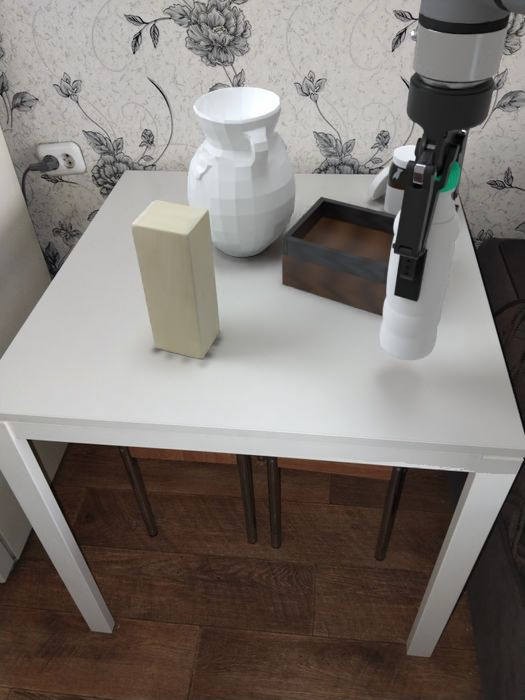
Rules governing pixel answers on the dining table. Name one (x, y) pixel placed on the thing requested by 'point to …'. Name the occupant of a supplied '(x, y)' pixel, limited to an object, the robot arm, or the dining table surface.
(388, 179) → the spread jar
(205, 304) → the beige rectangular block
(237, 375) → the dining table surface
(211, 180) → the white vase
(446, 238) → the water bottle
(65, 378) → the dining table surface
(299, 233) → the open rectangular box
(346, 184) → the dining table surface
